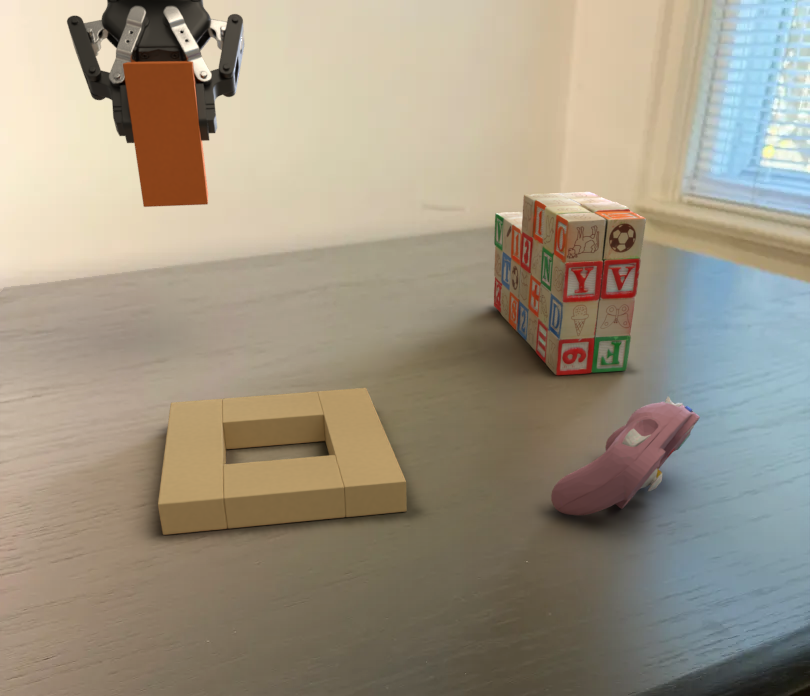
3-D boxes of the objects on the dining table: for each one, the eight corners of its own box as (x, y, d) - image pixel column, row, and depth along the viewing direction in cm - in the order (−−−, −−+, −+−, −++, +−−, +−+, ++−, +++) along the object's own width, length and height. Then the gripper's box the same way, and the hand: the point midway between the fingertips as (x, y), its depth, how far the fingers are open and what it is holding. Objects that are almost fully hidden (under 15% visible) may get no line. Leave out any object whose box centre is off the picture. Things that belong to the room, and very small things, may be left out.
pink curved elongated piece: (602, 554, 51) (671, 466, 46) (539, 504, 51) (601, 414, 47) (660, 488, 58) (725, 407, 53) (604, 446, 59) (663, 362, 54)
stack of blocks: (491, 307, 91) (495, 178, 84) (550, 304, 91) (559, 176, 85) (556, 376, 72) (568, 218, 66) (629, 371, 73) (647, 214, 67)
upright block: (143, 207, 70) (122, 63, 65) (147, 197, 74) (128, 61, 69) (207, 204, 71) (192, 62, 66) (208, 195, 75) (193, 60, 70)
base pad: (162, 535, 50) (157, 504, 49) (174, 428, 64) (170, 402, 63) (406, 511, 52) (406, 481, 51) (367, 413, 66) (366, 387, 65)
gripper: (243, -1, 77) (261, 164, 73) (72, 0, 75) (81, 170, 71) (238, -82, 70) (258, 96, 66) (49, -83, 68) (57, 100, 64)
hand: (166, 133), depth 68 cm, fingers closed on upright block, 5 cm apart
